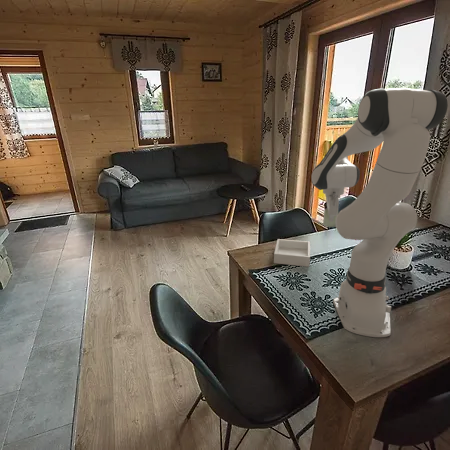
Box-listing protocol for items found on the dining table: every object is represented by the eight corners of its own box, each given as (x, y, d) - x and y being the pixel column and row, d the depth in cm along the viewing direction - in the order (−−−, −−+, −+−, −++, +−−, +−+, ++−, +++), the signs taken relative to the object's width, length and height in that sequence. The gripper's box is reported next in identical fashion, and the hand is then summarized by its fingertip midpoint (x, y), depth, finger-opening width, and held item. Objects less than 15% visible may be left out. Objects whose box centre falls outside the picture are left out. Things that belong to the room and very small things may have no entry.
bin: (309, 266, 130) (310, 257, 128) (273, 263, 134) (274, 253, 132) (309, 250, 144) (310, 241, 143) (277, 247, 149) (277, 238, 147)
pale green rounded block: (337, 227, 131) (338, 212, 128) (323, 226, 133) (324, 212, 130) (336, 222, 136) (337, 208, 134) (322, 221, 138) (324, 207, 135)
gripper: (343, 196, 118) (339, 227, 123) (339, 183, 136) (335, 211, 141) (327, 195, 119) (324, 226, 125) (325, 183, 138) (322, 210, 143)
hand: (330, 218), depth 133 cm, fingers closed on pale green rounded block, 6 cm apart
